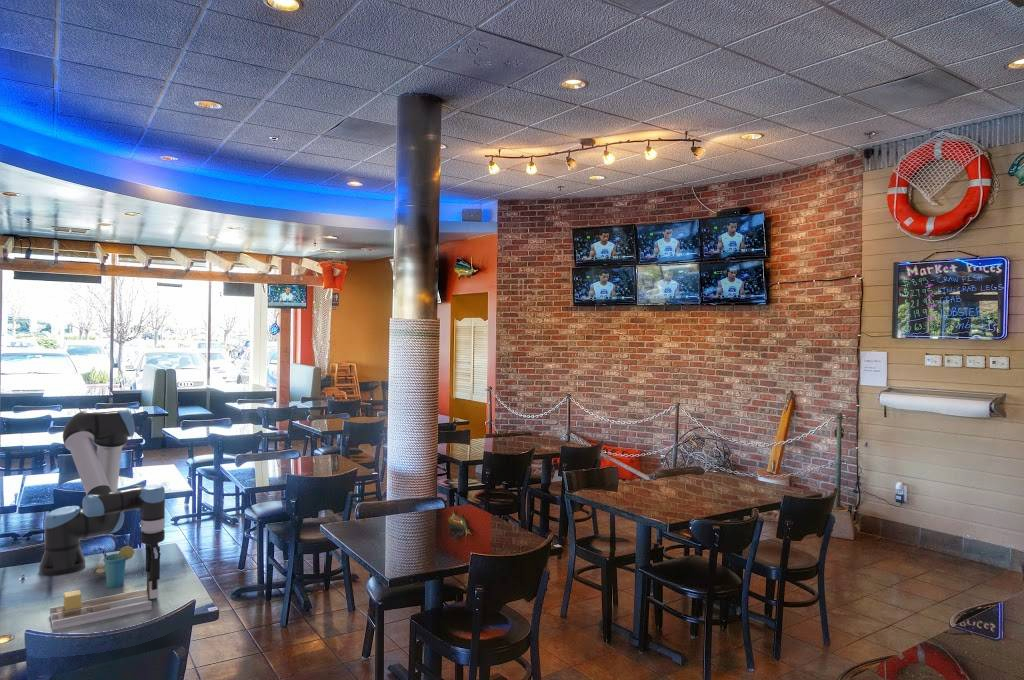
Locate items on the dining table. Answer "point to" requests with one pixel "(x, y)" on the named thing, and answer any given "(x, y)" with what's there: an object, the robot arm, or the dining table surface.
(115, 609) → the lane board
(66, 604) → the cube
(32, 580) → the dining table surface
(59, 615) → the broken strip
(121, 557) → the cup
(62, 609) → the strip
